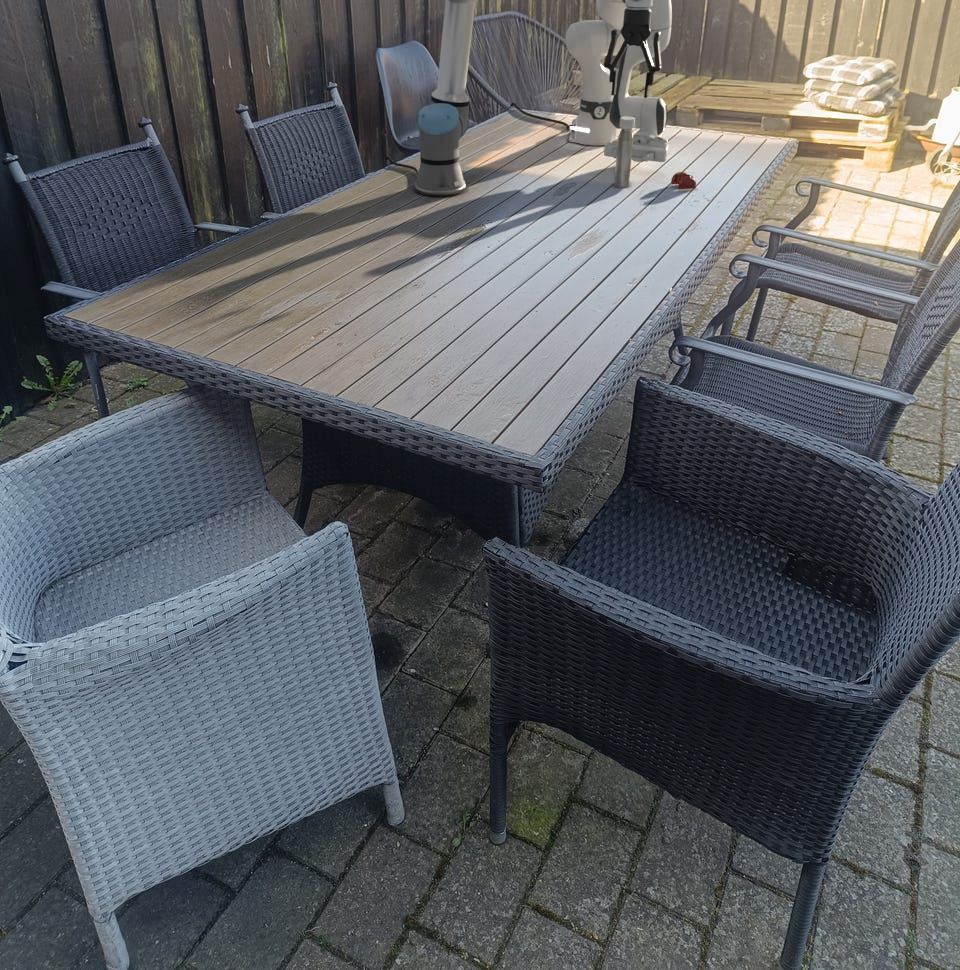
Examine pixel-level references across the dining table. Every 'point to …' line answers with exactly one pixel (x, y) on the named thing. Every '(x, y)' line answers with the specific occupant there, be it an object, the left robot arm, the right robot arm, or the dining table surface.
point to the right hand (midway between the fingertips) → (630, 157)
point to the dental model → (683, 180)
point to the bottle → (623, 158)
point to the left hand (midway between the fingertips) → (629, 95)
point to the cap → (627, 122)
